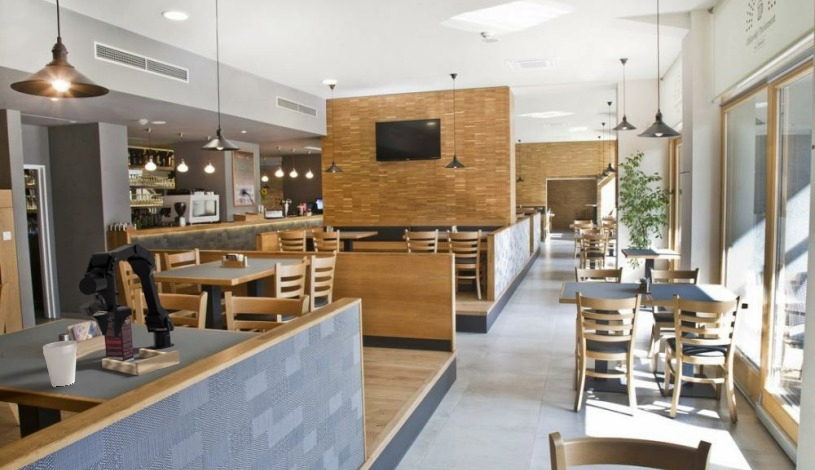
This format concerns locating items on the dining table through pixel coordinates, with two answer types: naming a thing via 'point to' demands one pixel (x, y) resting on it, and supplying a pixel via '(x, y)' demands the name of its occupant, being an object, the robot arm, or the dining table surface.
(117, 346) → the supplement box
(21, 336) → the dining table surface
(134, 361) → the felt pad
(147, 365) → the frame
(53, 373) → the foam cup
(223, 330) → the dining table surface
